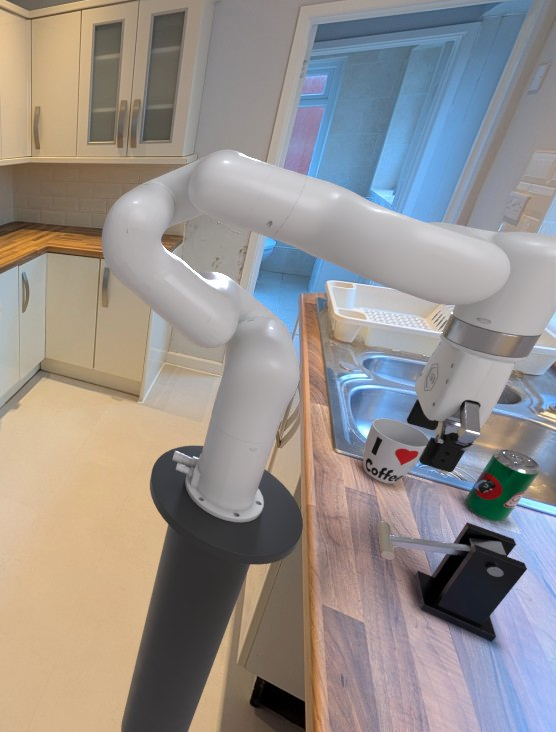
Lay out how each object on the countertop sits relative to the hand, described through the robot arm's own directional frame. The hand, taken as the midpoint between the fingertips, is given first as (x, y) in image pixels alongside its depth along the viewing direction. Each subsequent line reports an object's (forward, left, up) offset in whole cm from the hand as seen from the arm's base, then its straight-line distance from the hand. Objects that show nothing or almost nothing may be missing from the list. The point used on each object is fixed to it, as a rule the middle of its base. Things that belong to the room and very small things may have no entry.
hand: (426, 445), depth 59 cm
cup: (+2, +21, -21) cm, 29 cm away
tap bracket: (+8, -5, -21) cm, 23 cm away
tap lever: (+5, -6, -13) cm, 15 cm away
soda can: (+16, +20, -21) cm, 33 cm away
